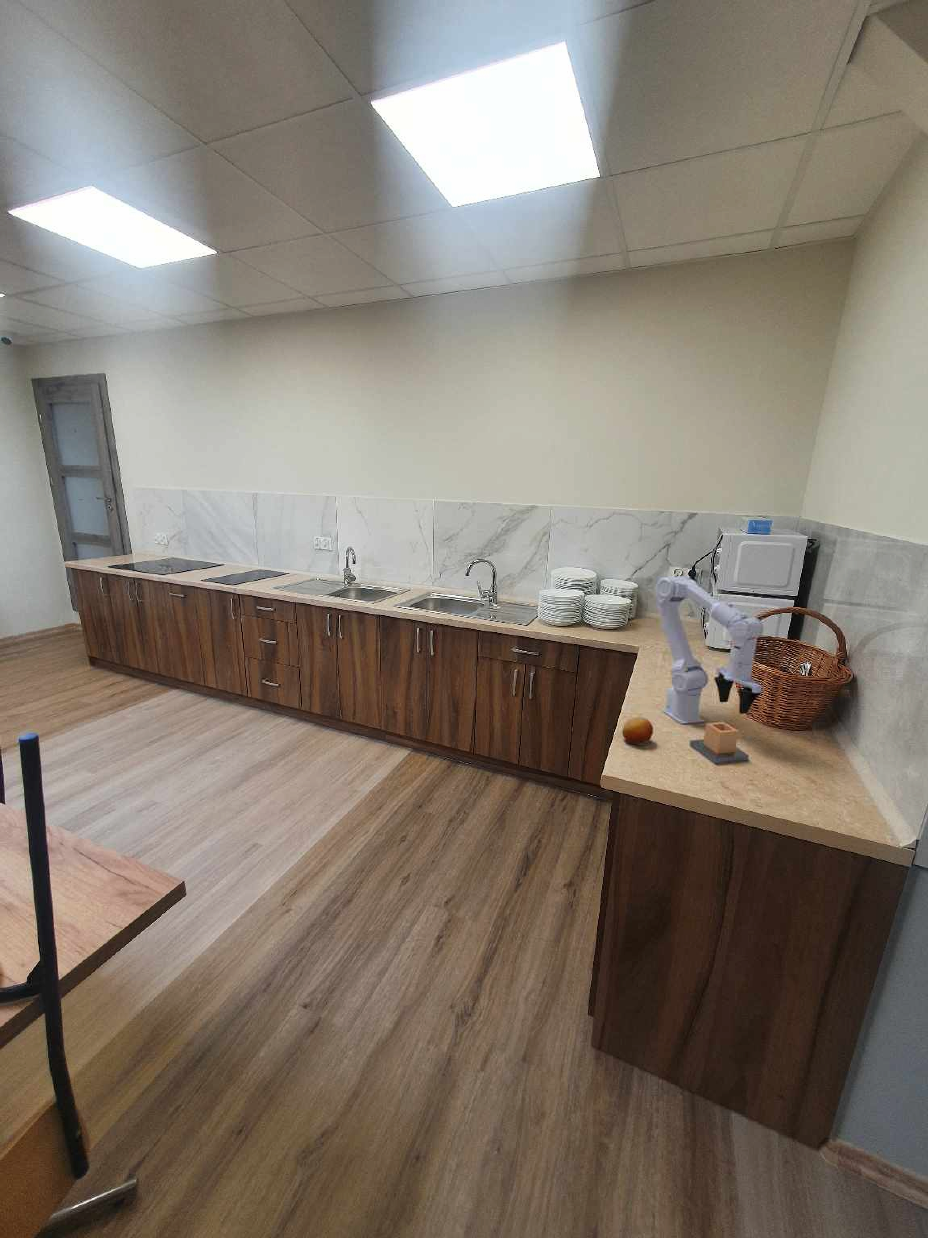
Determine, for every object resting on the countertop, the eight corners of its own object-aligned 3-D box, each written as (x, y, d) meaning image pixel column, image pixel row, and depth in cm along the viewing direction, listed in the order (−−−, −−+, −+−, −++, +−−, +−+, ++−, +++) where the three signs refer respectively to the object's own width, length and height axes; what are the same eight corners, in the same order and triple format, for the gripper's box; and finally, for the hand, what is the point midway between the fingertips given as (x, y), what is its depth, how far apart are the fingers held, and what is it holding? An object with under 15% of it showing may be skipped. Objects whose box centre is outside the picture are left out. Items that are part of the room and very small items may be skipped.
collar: (703, 743, 137) (706, 723, 136) (720, 742, 138) (723, 722, 137) (717, 753, 132) (720, 732, 131) (734, 752, 133) (738, 731, 132)
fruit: (652, 748, 134) (640, 720, 135) (626, 753, 139) (614, 726, 140) (663, 738, 140) (651, 710, 141) (638, 743, 145) (626, 717, 146)
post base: (689, 745, 139) (692, 723, 138) (720, 742, 141) (724, 721, 140) (715, 764, 130) (718, 741, 128) (748, 760, 132) (752, 737, 130)
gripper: (710, 653, 145) (703, 698, 148) (748, 671, 131) (740, 719, 134) (731, 652, 146) (723, 696, 149) (771, 669, 133) (762, 717, 136)
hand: (733, 707), depth 142 cm, fingers open, 7 cm apart
